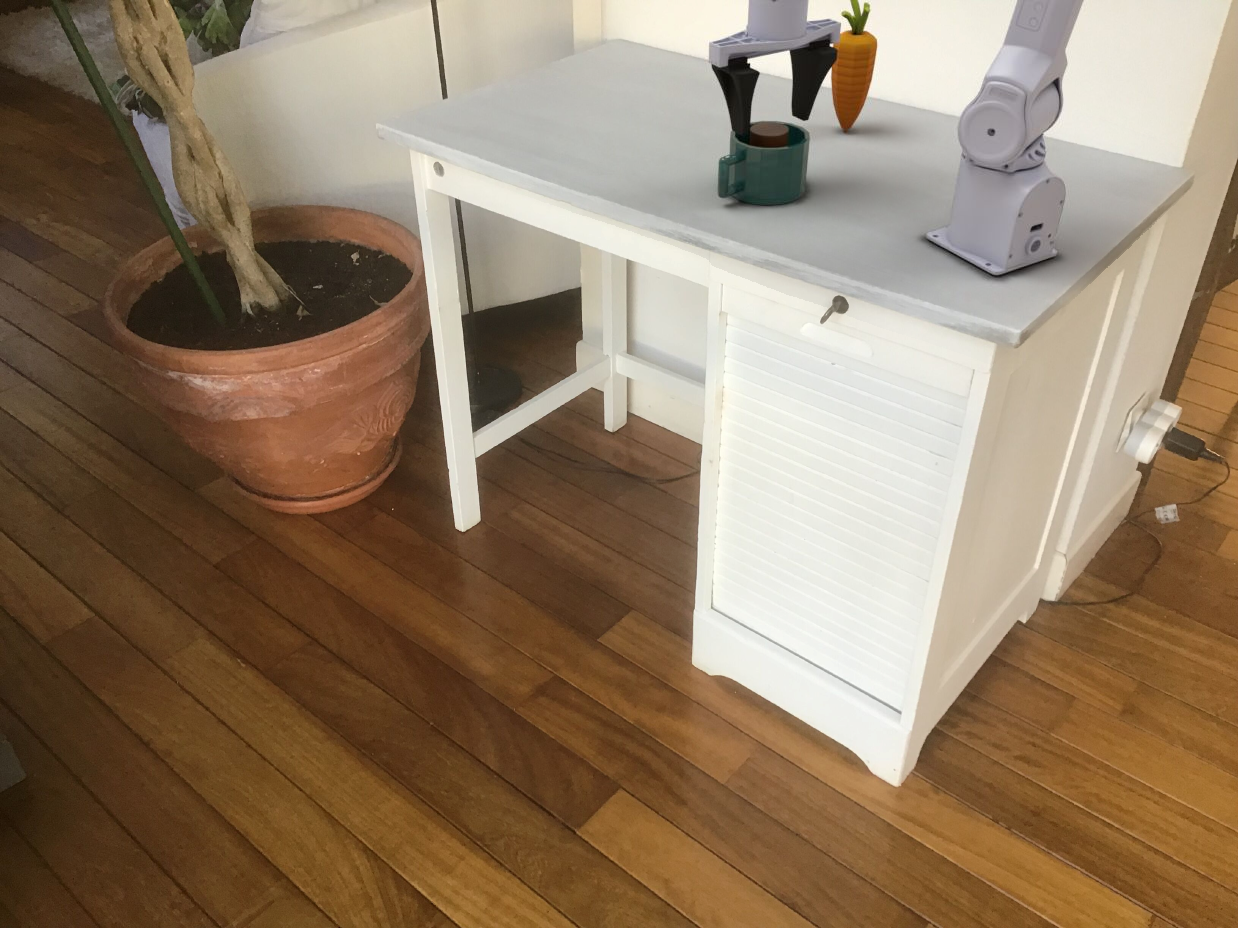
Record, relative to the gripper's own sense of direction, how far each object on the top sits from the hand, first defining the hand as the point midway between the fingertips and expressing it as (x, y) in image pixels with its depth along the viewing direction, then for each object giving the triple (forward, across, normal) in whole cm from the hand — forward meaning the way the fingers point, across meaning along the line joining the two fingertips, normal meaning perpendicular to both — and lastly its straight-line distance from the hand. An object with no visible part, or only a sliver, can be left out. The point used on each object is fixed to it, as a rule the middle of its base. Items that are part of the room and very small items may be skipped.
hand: (770, 125), depth 106 cm
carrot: (+7, -18, -9) cm, 21 cm away
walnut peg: (+6, 0, 0) cm, 6 cm away
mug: (+7, +1, 0) cm, 7 cm away
